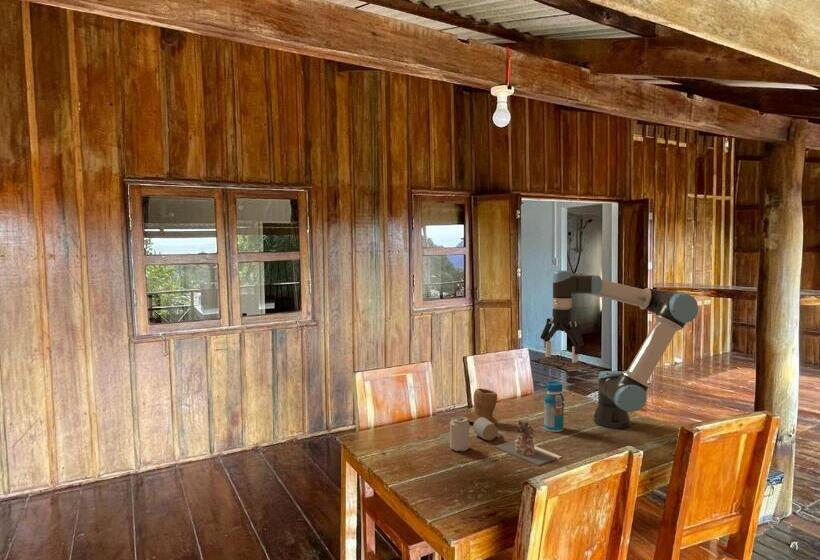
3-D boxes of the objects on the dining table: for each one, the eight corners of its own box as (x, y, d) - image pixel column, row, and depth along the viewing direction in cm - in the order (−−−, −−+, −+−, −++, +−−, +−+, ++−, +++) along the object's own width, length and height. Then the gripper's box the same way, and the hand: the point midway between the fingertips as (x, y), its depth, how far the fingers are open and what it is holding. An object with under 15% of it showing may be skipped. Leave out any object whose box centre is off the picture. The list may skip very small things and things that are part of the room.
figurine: (530, 456, 198) (531, 425, 198) (512, 453, 202) (512, 422, 201) (536, 450, 205) (537, 419, 204) (519, 447, 208) (519, 416, 207)
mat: (512, 441, 215) (512, 440, 215) (556, 459, 197) (556, 458, 197) (494, 447, 209) (494, 446, 209) (538, 465, 192) (538, 464, 192)
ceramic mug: (483, 442, 214) (484, 424, 214) (472, 436, 222) (472, 418, 221) (505, 438, 219) (505, 420, 219) (493, 432, 226) (494, 414, 226)
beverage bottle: (542, 431, 227) (542, 384, 226) (544, 424, 235) (545, 380, 234) (562, 433, 224) (563, 386, 223) (564, 427, 232) (565, 381, 231)
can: (471, 446, 210) (471, 416, 210) (466, 453, 203) (466, 422, 203) (452, 444, 213) (452, 414, 212) (447, 451, 206) (447, 420, 205)
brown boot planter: (502, 422, 239) (502, 389, 238) (488, 429, 230) (488, 395, 229) (474, 415, 248) (474, 383, 247) (459, 422, 239) (459, 389, 238)
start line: (517, 440, 217) (517, 439, 217) (561, 457, 199) (561, 456, 199) (514, 441, 216) (514, 440, 216) (558, 458, 198) (558, 457, 198)
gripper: (532, 306, 228) (532, 355, 229) (581, 311, 207) (580, 365, 209) (544, 304, 232) (543, 353, 233) (593, 310, 212) (592, 363, 213)
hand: (561, 359), depth 221 cm, fingers open, 13 cm apart
